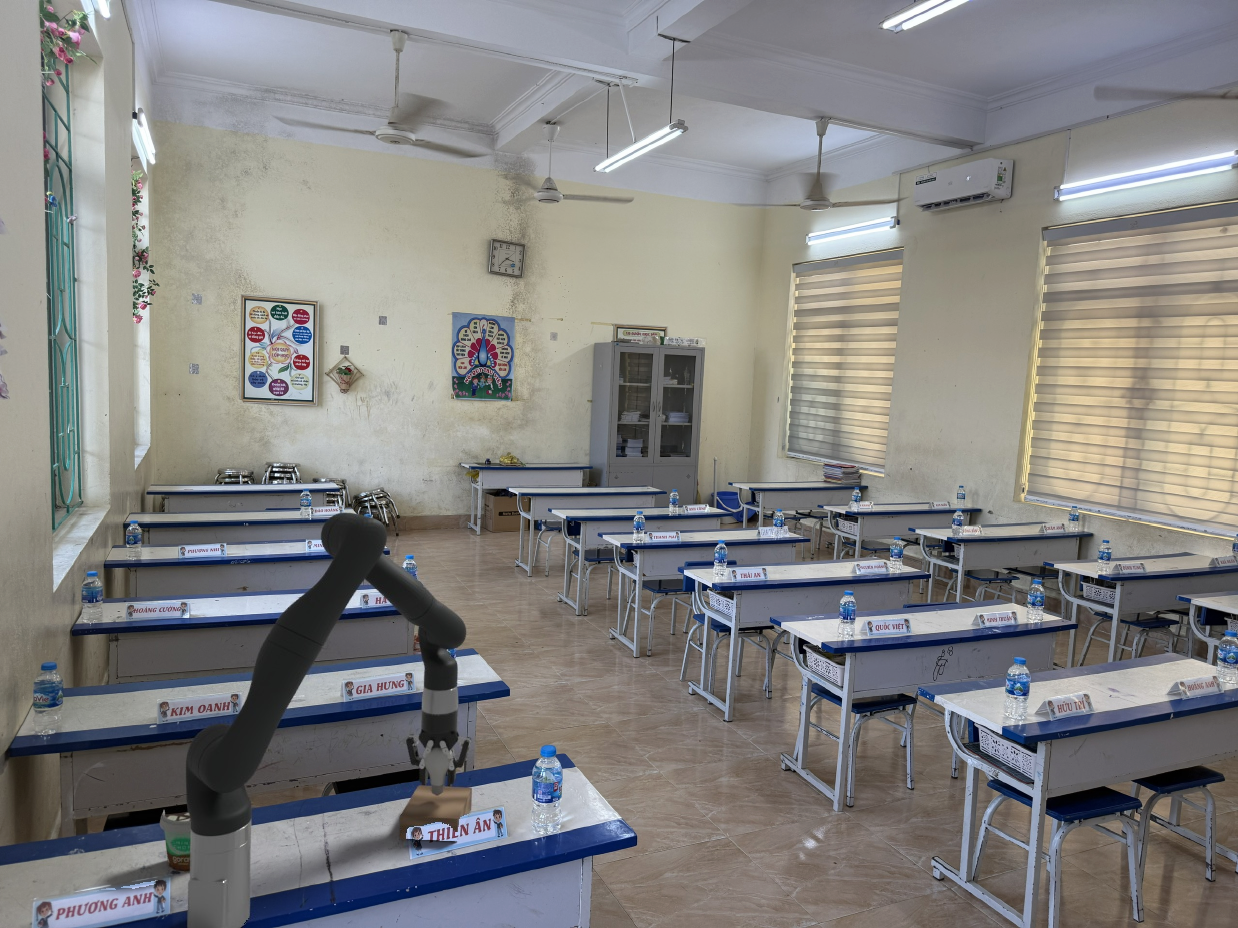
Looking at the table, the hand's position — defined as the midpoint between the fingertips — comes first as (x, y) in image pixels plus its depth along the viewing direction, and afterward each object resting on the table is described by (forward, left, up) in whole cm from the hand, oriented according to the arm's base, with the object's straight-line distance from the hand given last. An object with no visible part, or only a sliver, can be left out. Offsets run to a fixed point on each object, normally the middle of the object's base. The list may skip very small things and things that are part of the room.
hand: (437, 783), depth 169 cm
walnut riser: (0, 0, -9) cm, 9 cm away
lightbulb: (0, 0, -3) cm, 3 cm away
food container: (-20, +42, -9) cm, 47 cm away
